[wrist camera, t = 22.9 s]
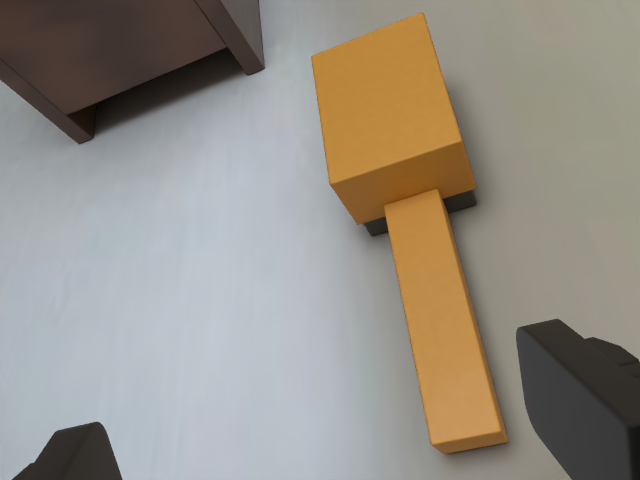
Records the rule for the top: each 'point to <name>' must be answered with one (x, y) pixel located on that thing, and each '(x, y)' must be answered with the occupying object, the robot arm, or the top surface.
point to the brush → (412, 210)
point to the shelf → (113, 48)
